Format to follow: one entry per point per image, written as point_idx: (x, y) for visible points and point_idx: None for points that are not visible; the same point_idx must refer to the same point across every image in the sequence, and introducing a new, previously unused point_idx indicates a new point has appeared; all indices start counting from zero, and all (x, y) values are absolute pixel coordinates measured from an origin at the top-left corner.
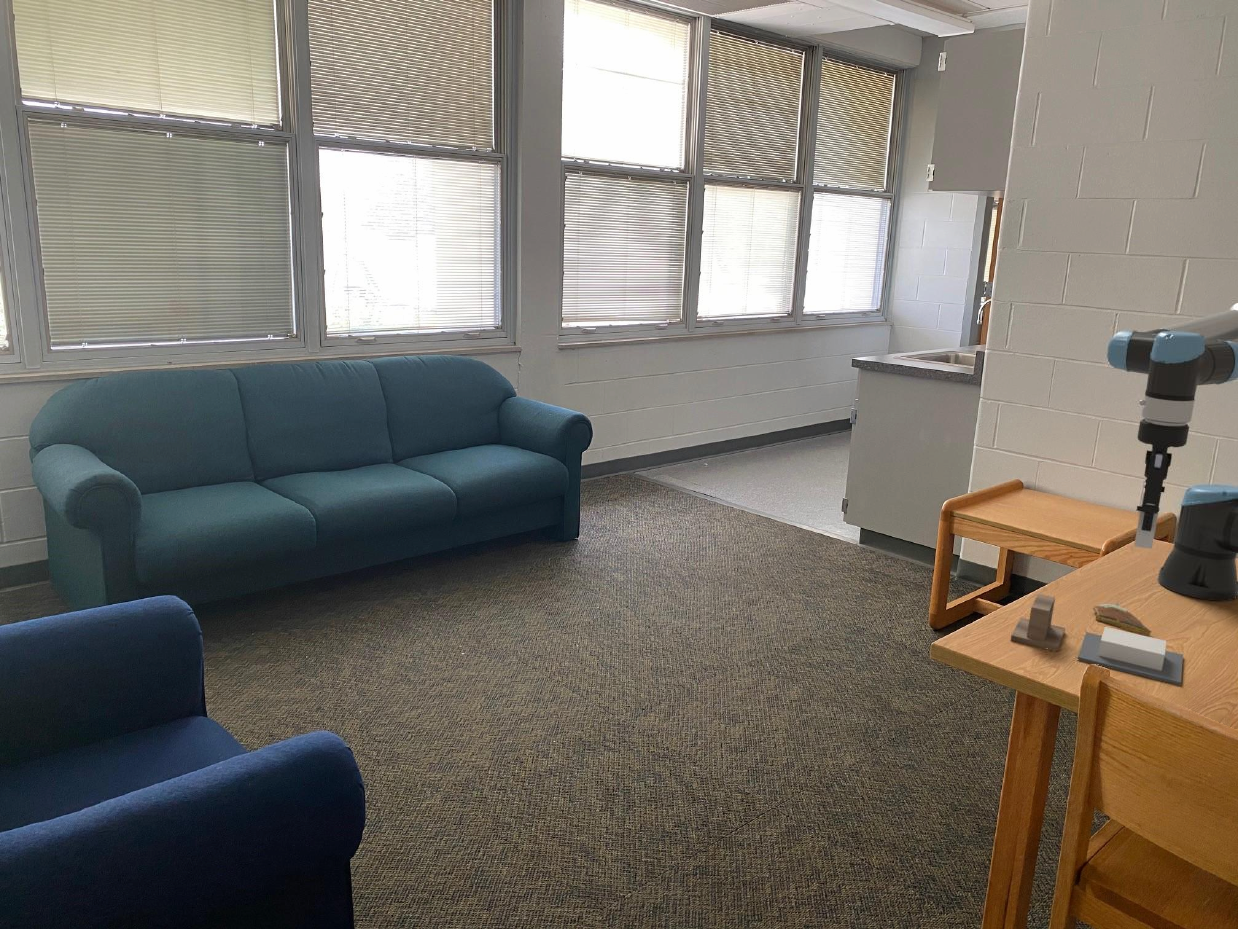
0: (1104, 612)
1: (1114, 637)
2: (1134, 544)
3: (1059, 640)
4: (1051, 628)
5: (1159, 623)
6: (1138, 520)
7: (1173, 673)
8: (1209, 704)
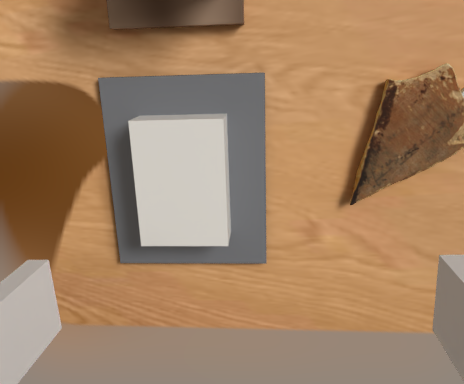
0: (416, 96)
1: (167, 146)
2: (22, 264)
3: (149, 24)
4: None
5: (452, 213)
6: (451, 267)
7: (152, 250)
8: (80, 300)
